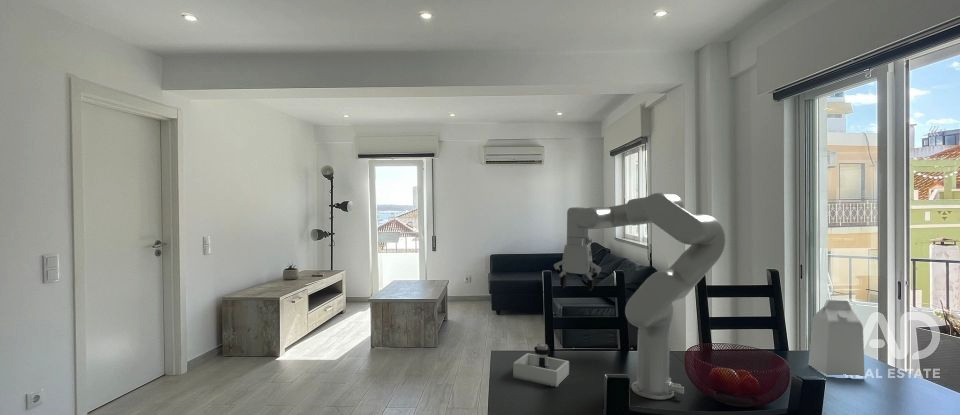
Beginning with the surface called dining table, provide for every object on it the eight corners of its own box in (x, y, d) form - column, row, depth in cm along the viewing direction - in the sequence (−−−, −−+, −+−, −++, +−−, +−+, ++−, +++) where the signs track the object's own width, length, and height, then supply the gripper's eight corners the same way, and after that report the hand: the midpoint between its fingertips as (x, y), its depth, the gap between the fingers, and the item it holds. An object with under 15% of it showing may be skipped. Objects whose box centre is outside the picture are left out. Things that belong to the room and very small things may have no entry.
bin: (568, 375, 160) (569, 361, 160) (556, 387, 150) (556, 371, 150) (527, 366, 168) (527, 353, 168) (513, 377, 158) (513, 362, 158)
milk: (844, 368, 170) (846, 297, 170) (864, 380, 159) (866, 304, 158) (808, 365, 172) (810, 295, 172) (825, 377, 161) (827, 302, 161)
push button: (553, 372, 161) (553, 343, 161) (554, 378, 156) (554, 348, 155) (533, 371, 162) (534, 342, 161) (534, 377, 156) (534, 347, 156)
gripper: (604, 242, 166) (603, 289, 167) (558, 239, 175) (557, 284, 175) (598, 244, 160) (597, 293, 160) (550, 241, 169) (550, 288, 169)
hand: (576, 289), depth 168 cm, fingers open, 9 cm apart
